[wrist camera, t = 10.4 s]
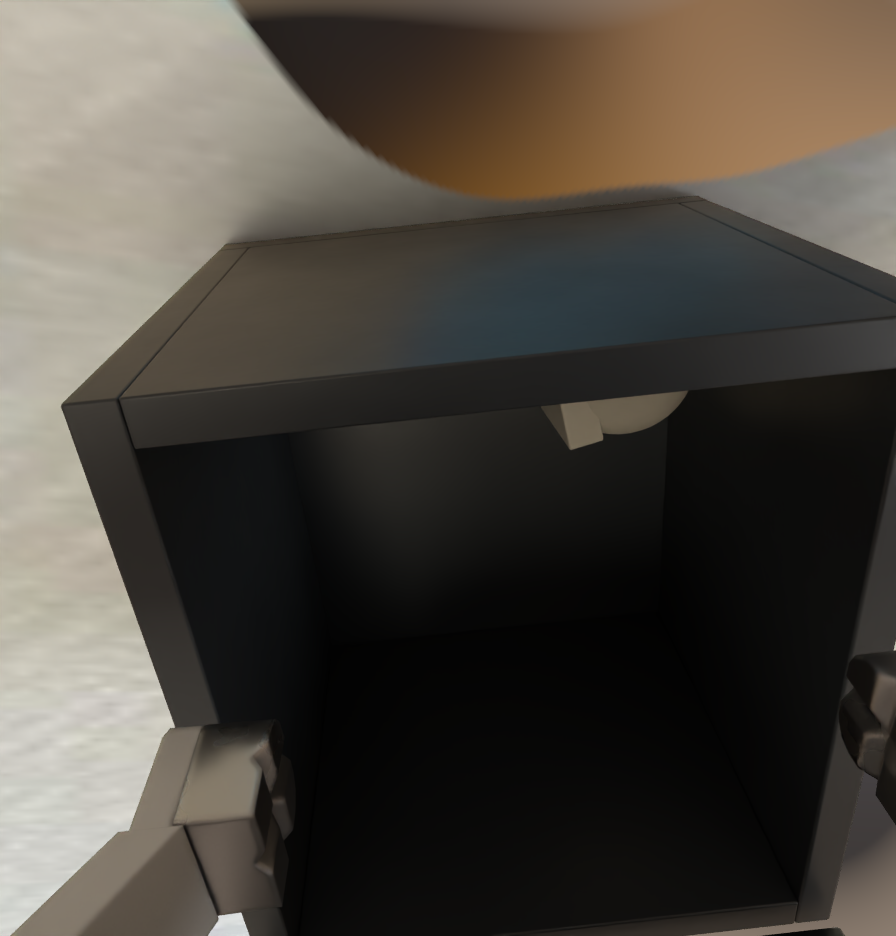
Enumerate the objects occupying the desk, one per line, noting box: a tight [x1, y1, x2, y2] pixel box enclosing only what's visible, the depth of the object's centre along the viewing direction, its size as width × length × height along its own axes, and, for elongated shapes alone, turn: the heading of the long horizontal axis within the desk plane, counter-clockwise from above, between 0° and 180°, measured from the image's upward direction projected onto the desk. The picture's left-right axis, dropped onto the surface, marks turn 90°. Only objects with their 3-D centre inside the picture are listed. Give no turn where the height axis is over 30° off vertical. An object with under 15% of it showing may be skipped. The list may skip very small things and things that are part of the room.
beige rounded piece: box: [541, 391, 688, 450], centre depth 22 cm, size 4×4×4 cm
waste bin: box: [61, 196, 896, 936], centre depth 21 cm, size 16×14×12 cm
